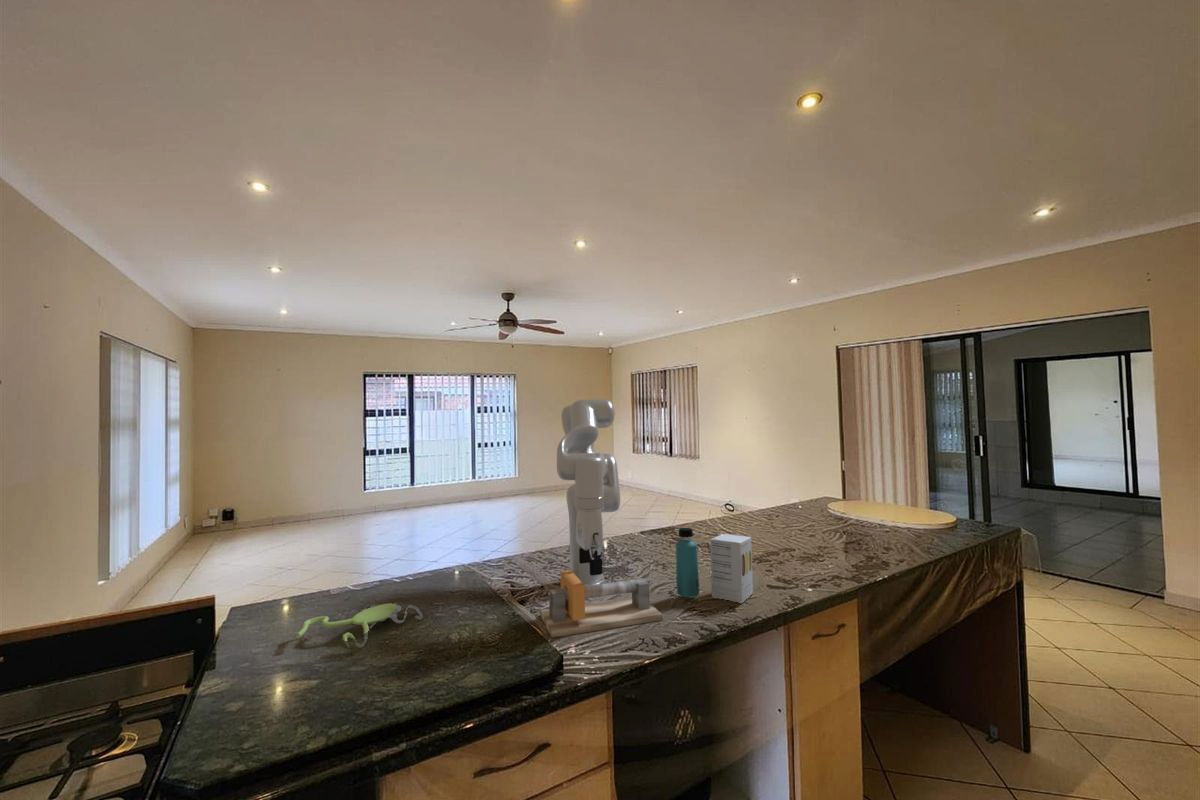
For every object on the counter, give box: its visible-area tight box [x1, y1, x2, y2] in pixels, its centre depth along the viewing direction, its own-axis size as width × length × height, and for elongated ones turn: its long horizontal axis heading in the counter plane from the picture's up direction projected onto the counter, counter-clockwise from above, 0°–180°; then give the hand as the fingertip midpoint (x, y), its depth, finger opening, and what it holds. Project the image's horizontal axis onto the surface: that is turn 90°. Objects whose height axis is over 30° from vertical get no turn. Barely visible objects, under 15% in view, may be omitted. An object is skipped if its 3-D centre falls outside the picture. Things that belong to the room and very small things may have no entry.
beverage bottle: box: [675, 527, 700, 598], centre depth 133 cm, size 6×7×20 cm
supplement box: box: [709, 533, 754, 604], centre depth 134 cm, size 10×9×17 cm
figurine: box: [295, 602, 396, 642], centre depth 115 cm, size 18×27×6 cm
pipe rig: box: [539, 577, 663, 639], centre depth 120 cm, size 14×29×9 cm, turn 108°
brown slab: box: [559, 569, 586, 621], centre depth 118 cm, size 13×3×8 cm, turn 18°
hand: (590, 568), depth 121 cm, fingers open, 9 cm apart
